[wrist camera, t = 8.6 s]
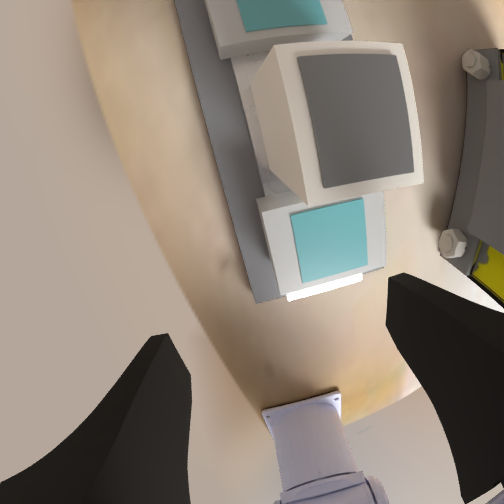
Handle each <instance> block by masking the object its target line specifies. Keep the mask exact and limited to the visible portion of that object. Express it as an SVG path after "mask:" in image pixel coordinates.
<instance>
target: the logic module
mask: <svg viewBox="0 0 504 504" xmlns="http://www.w3.org/2000/svg"><path fill="white" fill-rule="evenodd" d="M250 86H251V90H252V94H253V98H254V103H255V107H256V111H257V115H258V120H259V124H260V128H261V133H262V137H263V142H264V146H265V150H266V155H267V160H268V164H269V169H270V170H271V171H272V172H273V173H274V174H275V175H276V176H277V177H278V178H279V179H280V180H281V181H282V182H283V183H284V184H286V185H287V186H288V187H289V188H290V189H291V190H292V191H293V192H294V193H295V194H296V195H297V196H298V197H299V198H300V199H301V200H302V201H303V202H304V203H305V204H306V205H307V206H308V207H309V206H314V205H318V204H323V203H327V202H332V201H336V200H341V199H346V198H351V197H355V196H360V195H365V194H370V193H375V192H380V191H385V190H390V189H395V188H400V187H406V186H411V185H416V184H422V183H424V178H423V160H422V148H421V138H420V129H419V121H418V114H417V108H416V101H415V96H414V90H413V85H412V80H411V75H410V71H409V66H408V62H407V58H406V54H405V50H404V47H403V44H399V43H389V42H374V41H313V42H299V43H288V44H279V45H274V46H273V47H272V49H271V50H270V52H269V54H268V55H267V57H266V59H265V60H264V62H263V64H262V65H261V67H260V69H259V70H258V72H257V74H256V75H255V77H254V79H253V81H252V82H251V84H250Z"/></svg>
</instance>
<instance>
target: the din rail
mask: <svg viewBox="0 0 504 504" xmlns="http://www.w3.org/2000/svg"><path fill="white" fill-rule="evenodd" d="M269 52H270V51H263V52H257V53H252V54H246V55H241V56H236V57H231V58H230V61H231V65H232V68H233V72H234V76H235V80H236V83H237V87H238V91H239V95H240V99H241V103H242V107H243V110H244V114H245V118H246V122H247V126H248V130H249V134H250V138H251V142H252V146H253V151H254V155H255V159H256V163H257V167H258V171H259V176H260V180H261V184H262V188H263V193H264V197H265V196H270V195H274V194H278V193H282V192H286V191H291V189H290V188H289V187H288V186H287V185H286V184H284V183H283V182H282V181H281V180H280V179H279V178H278V177H277V176H276V175H275V174H274V173H273V172H272V171H271V170H270V169H269V164H268V160H267V155H266V150H265V146H264V142H263V137H262V133H261V128H260V124H259V120H258V115H257V111H256V107H255V103H254V98H253V94H252V90H251V86H250V84H251V82H252V81H253V79H254V77H255V75H256V74H257V72H258V70H259V69H260V67H261V65H262V64H263V62H264V60H265V59H266V57H267V55H268V54H269ZM361 280H362V273H360V274H357V275H353V276H350V277H347V278H343V279H340V280H336V281H333V282H329V283H326V284H322V285H319V286H315V287H312V288H308V289H304V290H301V291H297V292H293V293H289V294H286V296H287V299H288V301H291V300H295V299H299V298H302V297H306V296H310V295H313V294H317V293H320V292H324V291H327V290H331V289H334V288H338V287H341V286H345V285H348V284H351V283H355V282H358V281H361Z"/></svg>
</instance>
